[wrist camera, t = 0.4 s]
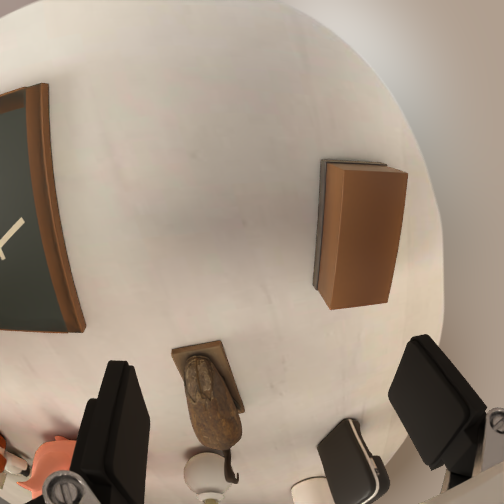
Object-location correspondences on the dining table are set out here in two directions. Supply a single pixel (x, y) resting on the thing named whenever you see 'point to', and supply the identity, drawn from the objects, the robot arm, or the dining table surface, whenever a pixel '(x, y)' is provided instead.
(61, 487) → the robot arm
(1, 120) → the slate
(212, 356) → the figurine
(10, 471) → the toy
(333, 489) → the battery charger
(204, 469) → the ornament
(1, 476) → the topographic model
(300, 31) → the dining table surface
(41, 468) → the teapot
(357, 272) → the eraser
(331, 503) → the can
